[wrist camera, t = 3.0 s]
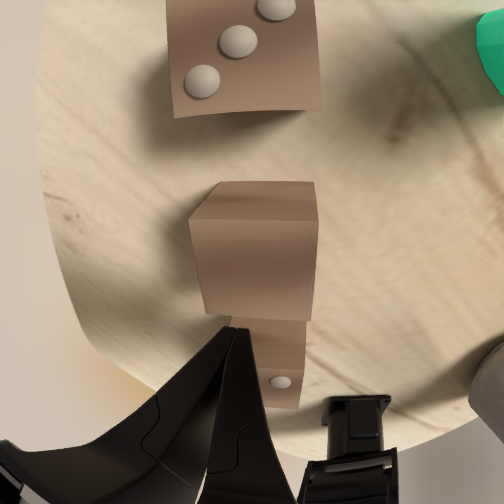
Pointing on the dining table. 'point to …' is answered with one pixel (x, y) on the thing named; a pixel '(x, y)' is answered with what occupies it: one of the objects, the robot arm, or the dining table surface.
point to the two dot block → (277, 358)
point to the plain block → (257, 249)
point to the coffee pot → (490, 391)
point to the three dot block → (242, 56)
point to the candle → (492, 46)
